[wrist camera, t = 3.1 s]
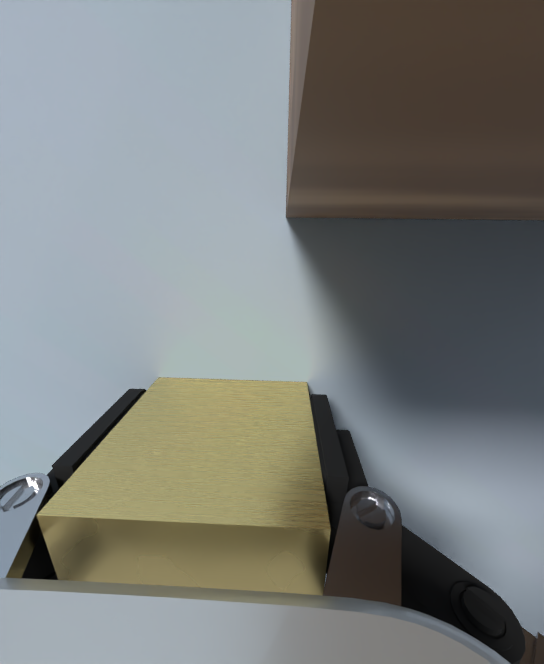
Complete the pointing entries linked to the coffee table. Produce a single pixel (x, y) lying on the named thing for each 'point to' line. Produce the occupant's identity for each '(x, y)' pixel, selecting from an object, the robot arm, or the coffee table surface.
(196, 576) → the brushed brass block
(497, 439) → the coffee table surface
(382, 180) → the box
